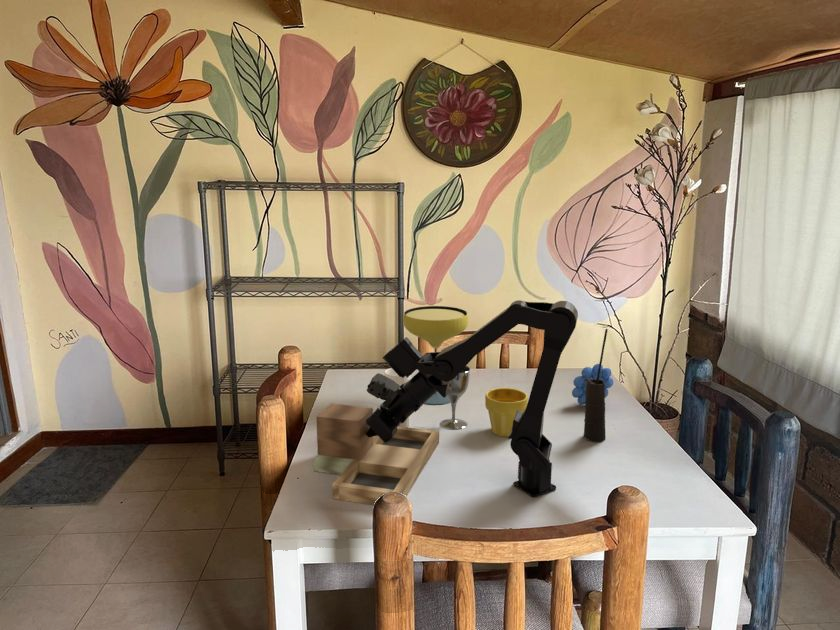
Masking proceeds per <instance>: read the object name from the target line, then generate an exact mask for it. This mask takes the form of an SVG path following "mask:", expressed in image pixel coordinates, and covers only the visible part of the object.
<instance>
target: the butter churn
mask: <svg viewBox="0 0 840 630" xmlns="http://www.w3.org/2000/svg"><path fill="white" fill-rule="evenodd" d="M607 334H608V328H606V329H605V331H604V336H603V337H604V338H603V341H602V346H601V353H600V357H599V358H600V359H599V363H598V364H599V368H598V374H597V379H596V380H589V379H588V378H585V381H587V386H586V398H585V404H584V420H583V421H584V425H583V427H584V428H583V429H584V430H583V437H584V438H585V439H586V440H587V441H589V442H593V443H601V442H604V441H606V398H605V382H604V381H602V380H599V375H600V370H601V365H603V364H602V363H603V359H604V357H603V356H604V351H605V345H606V340H607V336H608V335H607Z"/></svg>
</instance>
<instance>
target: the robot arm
mask: <svg viewBox="0 0 840 630" xmlns="http://www.w3.org/2000/svg"><path fill="white" fill-rule="evenodd" d="M578 312H579V311H578V310H577V307H576V306H575V305H574V304H573V303H572V302H570V301H567V300H558V301H556V302H554V303H553V302H543V301H541V302H540V301H538V302H537V301H526V300H525V301H524V300H518V299H517V300H515V301H513V302H511V303H510V305H509V306H508V307H507V308H506V309H504V310H502V311H501V312H500V313H499V314H498V315H496V316H495V317H493V318H492V319H491V320H490V321H488V322H487V323H486V324H484V325H482V327H480V328H479V329H477V330H476V331H475V332H474V333H472V334H471V335H469V336H468V337H467V338H465V339H463V340H460V341H457V342H455V343H452V344H451V345H449V346H447V347H445V348H443V349H442V350H440V351H437V352H435V351H431V352H425V353H424V354H422V353H421V352H420V351H419V350H418V348H416V346H415V345H414V344H413V342H412V341H411V340H410V339H409V337H404V338H403V339H402V340H401V341H400V342H399V343H397V344H396V345H395V346H393V348H391V349H390V350H389V351H388V352H386V353H385V355H383V357H382V359H383V360H384V362H385V363H386V364H387V366H389V367H390V368H392V369H393V370H394V371H395V372H396V373H397V374H398V376H399V377H402V378H404V377H405V376H406V377H407V378H408V377H409V376H410V375H411V379H410V380H409V381H408V382H406V383H405V382H404V383H403V384H402V385H401V386H400V385H399V384H397V383H396V382H395V381H393V380H391V379H389V378H388V377H386V376H384V374H382V373H375V375H374V376H373V377H371V380H370V381H369V383H368V384H367V388H366V392H367V393H368V394H369V395H371V396H374V397H375V398H376V399H380V400H383V402H382V403H381V404H380V405H379V407H377V408H376V409H375V410H374V411H373V413H372V414H371V415H370V416H369V417H368V418H367V419H366V423H367V424H368V425H369V426H370V428H369V430H368V431H367V433H366V435H367V436H368V437H374V436H379V437H380V438H381V439H382V441H383V442H388V441H389V440H390V439H391V438H392V437H393V436H394V435H395V433H396V432H397V426H399V425H400V424H401V423H404V422H405V421H406V419H407V418H408V417H409V418H410V416H411V415H412V414H414V413H416V412H417V411H418V410H420V408H421V407H422V406H423V405H424V403H425V402H426V401H427V400H428V399H430V398H431V397H432V396H433V395H434V394H435V393H436V392H439V394H440V395H441V396H442V397H444V398H445V397H446V396H447V394H448V393H449V384H450V382H449V381H451V380H453V379H454V378H455V377H456V376H457V375H458V374H459V373H460V372H461V371H462V370H463V369H464V367H465V366H468V365H469V363H470V362H471V361H472V359H474V358H475V357H476V356H477V355H478V354H480V353H481V352H482V351H484V350H485V349H487V348H488V347H489V346H491V345H492V344H493V343H495V342H496V341H497V340H499V339H500V338H501V337H502V336H505V335H506V334H507V333H508V332H510V331H511V330H513V329H514V328H515V327H516V326H518V325H522V326H527V327H531V328H533V329H536V330H541V331H544V332H543V347H542V352H541V356H540V358H539V361H538V366H537V370H536V372H535V376H534V380H533V383H532V387H531V389H530V395H529V397H528V403H527V407H526V409H525V410H524V412H523V413H522V412H520V411H519V410H517V412H516V415H515V417H514V420H513V426H512V429H511V431H510V434H509V437H507V439H508V440H510V443H509V445H510V446H509V447H510V449H511V450H512V452H513V453H514V454H515V455H516V456H517V457H518V459H519V461H518V465H517V466H518V467H517V470H518V471H517V479H518V480H516V481H514V482H513V483H512V485H513V486H515V488H517V489H519V490H520V491H522V492H524V493H525V494H527V495H528V496H530V497H533V498H535V497H539V496H541V495H544V494H546V493H549V492H551V491H554V490H557V486H556V485H555V484H553V483H552V470H553V464H552V462H551V460H550V457H551V453H552V452H551V451H552V447H553V443H552V442H551V441H550V440H549V439H548V438H547V437H546V436H545V435H544V434H543V430H544V419H545V418H544V417H545V410H546V407H547V404H548V403H547V402H548V399H549V396H550V393H551V388H552V386H553V383H554V379H555V375H556V372H557V369H558V365H559V362H560V360H561V359H560V358H561V355H562V353H563V351H564V350H565V348H566V346H567V344H568V342H569V340H570V339H571V337H572V335H573V333H574V331H575V329H576V326H577V322H578V317H579V314H578ZM415 371H418V372H417V373H416V374H415V375H413V376H412V374H414V372H415Z"/></svg>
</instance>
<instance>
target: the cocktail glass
mask: <svg viewBox="0 0 840 630" xmlns="http://www.w3.org/2000/svg"><path fill="white" fill-rule="evenodd" d="M402 315H403V317H402V323H403V326H404V328H405V329H406V330H407V331H408V332H409V333H410V334H412V335H413V336H415V337H418V338H420V339H422V340H424V341H426V342H427V343H428V344H429V345H430V346H431V348H432V349H434V352H438V351H437V349H439V348H440V347H441V346H442V344H443V343H444V342H446V341H447V340H449V339H451V338H454V337H456V336H458V335H460V334H462V333H463V332H464V331H465V330H466V329H467V327H468V325H469V314H468V312H467V311H466V310H464V309H462V308H459V307H453V306H442V305H440V306H439V305H425V306H417V307H412V308H409V309H407V310H405V311H404V313H403V314H402ZM424 404H426V405H429V406H430V405H431V406H432V405H433V406H439V405H446V404H451V402H450V400H449V399H448V398H447V396H446V397H445V398H444V397H442V396H441V395H440V394H439V392H436V393H435V394H434V395H433V396H432V397H431V398H430V399H428V400H427V401H426V402H425V403H424ZM424 404H423V405H424Z"/></svg>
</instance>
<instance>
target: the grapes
mask: <svg viewBox="0 0 840 630" xmlns="http://www.w3.org/2000/svg"><path fill="white" fill-rule="evenodd" d="M598 368H599V363H596V364H594V365H593V366H592V367H591V366H586V367H583V368H582V370H581V374H580V375H578V376H576V377H575V378H574V379H573V381H572V382H573V386H574V388H573V389H572V391H571V395H572V397H573V398H576V399H577V400H576V401H577V404H578V405H580V406H583V405H584V406H585V398H586V386H587V381H585V378H588V379H589V380H596V379H597V374H598ZM611 376H612V369H611V368H609V367H605V368H604V366H603V364H601V370H600V375H599V380H602V381H604V382H605V399H606V398H607V397H608V395H609V390H608V389H611V387H613V385H614V379H613V378H612V377H611Z"/></svg>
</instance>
